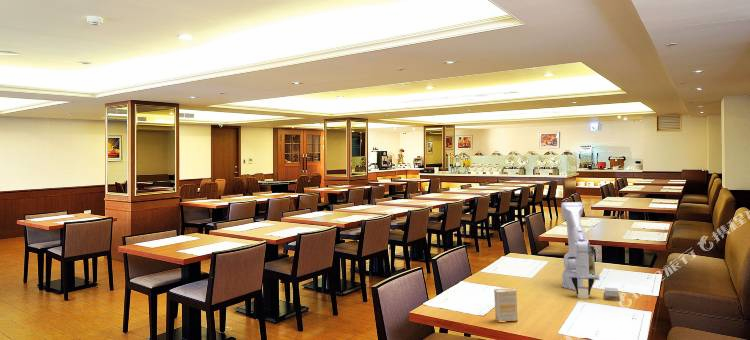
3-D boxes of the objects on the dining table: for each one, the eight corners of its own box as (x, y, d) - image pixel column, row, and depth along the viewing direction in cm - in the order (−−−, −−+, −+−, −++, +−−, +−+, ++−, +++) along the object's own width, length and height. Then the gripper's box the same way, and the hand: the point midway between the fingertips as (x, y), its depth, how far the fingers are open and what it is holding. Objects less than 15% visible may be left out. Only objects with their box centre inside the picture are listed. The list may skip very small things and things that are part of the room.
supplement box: (514, 318, 207) (513, 287, 207) (517, 322, 202) (516, 290, 202) (494, 319, 207) (493, 288, 207) (498, 323, 202) (497, 291, 202)
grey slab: (605, 295, 228) (605, 290, 228) (604, 292, 233) (604, 287, 233) (618, 296, 226) (618, 291, 226) (617, 293, 231) (617, 288, 231)
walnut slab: (604, 301, 228) (604, 295, 228) (603, 297, 234) (603, 292, 234) (619, 302, 226) (619, 296, 225) (618, 298, 232) (618, 293, 231)
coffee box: (582, 276, 275) (581, 247, 275) (574, 273, 281) (573, 245, 281) (595, 274, 277) (594, 246, 277) (587, 272, 283) (587, 244, 283)
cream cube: (578, 298, 233) (577, 288, 233) (578, 295, 237) (577, 286, 237) (588, 298, 231) (588, 289, 231) (588, 296, 236) (588, 286, 236)
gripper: (565, 266, 233) (566, 295, 233) (599, 268, 228) (600, 297, 228) (566, 263, 240) (567, 291, 240) (598, 265, 234) (599, 293, 234)
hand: (583, 294), depth 234 cm, fingers closed on cream cube, 4 cm apart
